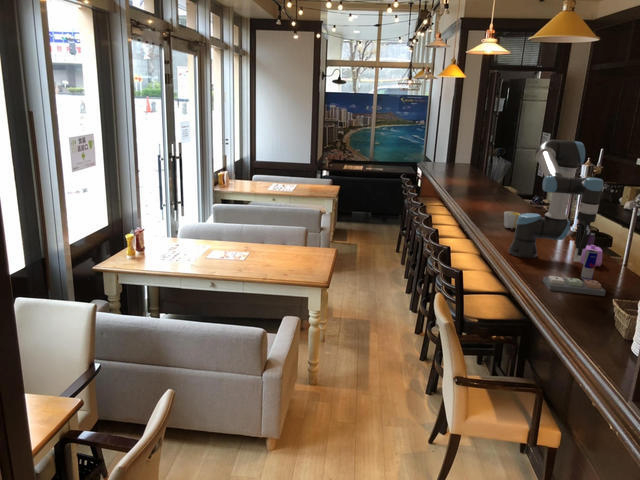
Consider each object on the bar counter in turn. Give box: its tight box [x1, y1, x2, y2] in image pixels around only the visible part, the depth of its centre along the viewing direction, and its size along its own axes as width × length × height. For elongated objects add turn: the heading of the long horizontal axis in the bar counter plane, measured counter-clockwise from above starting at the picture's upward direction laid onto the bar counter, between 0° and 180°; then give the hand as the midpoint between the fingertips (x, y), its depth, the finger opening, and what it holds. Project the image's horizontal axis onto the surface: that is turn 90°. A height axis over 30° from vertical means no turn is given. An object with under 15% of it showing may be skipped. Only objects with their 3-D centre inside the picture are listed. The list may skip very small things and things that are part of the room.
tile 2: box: [565, 277, 583, 287], centre depth 241 cm, size 6×6×3 cm
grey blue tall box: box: [580, 250, 598, 281], centre depth 253 cm, size 5×5×15 cm
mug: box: [503, 210, 521, 230], centre depth 351 cm, size 14×10×10 cm
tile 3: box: [583, 279, 602, 289], centre depth 240 cm, size 6×6×3 cm
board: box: [542, 276, 607, 297], centre depth 241 cm, size 12×24×2 cm, turn 81°
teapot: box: [579, 245, 603, 267], centre depth 283 cm, size 18×10×10 cm, turn 162°
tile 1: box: [547, 275, 565, 285], centre depth 242 cm, size 6×6×3 cm
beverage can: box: [587, 232, 596, 246], centre depth 301 cm, size 7×7×12 cm
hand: (576, 261), depth 240 cm, fingers closed
